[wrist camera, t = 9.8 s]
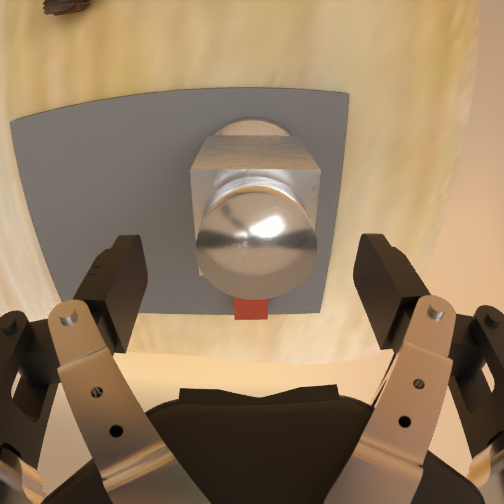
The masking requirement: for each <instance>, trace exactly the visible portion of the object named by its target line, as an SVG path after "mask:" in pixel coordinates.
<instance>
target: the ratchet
mask: <svg viewBox="0 0 504 504" xmlns="http://www.w3.org/2000/svg"><path fill="white" fill-rule="evenodd" d="M216 135H280V136H292V135H291V134H290V133H289V132H288V131H287V130H286V129H285V128H284V127H282V126H281V125H279V124H278V123H276V122H274V121H272V120H269V119H266V118H261V117H242V118H237V119H234V120H232V121H230V122H227V123H225V124H224V125H222V126H221V127H220V128H218V129H217V130H216V131H215V132H214V133H213V134H212V136H216ZM234 315H235V320H260V319H267V317H268V299H263V300H248V299H241V298H237V297H234Z"/></svg>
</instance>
